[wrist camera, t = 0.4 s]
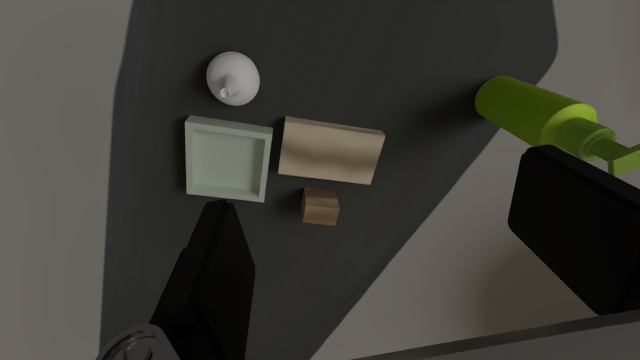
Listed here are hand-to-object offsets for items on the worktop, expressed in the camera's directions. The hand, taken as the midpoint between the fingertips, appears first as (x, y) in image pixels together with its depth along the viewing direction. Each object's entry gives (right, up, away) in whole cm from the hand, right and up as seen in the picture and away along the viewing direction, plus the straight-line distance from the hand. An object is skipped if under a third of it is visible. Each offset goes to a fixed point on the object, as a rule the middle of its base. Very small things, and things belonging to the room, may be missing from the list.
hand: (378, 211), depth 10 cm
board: (-1, +6, +35) cm, 36 cm away
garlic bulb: (-13, +14, +29) cm, 34 cm away
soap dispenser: (+23, +13, +33) cm, 42 cm away
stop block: (-2, -2, +39) cm, 39 cm away
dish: (-15, +4, +34) cm, 37 cm away
